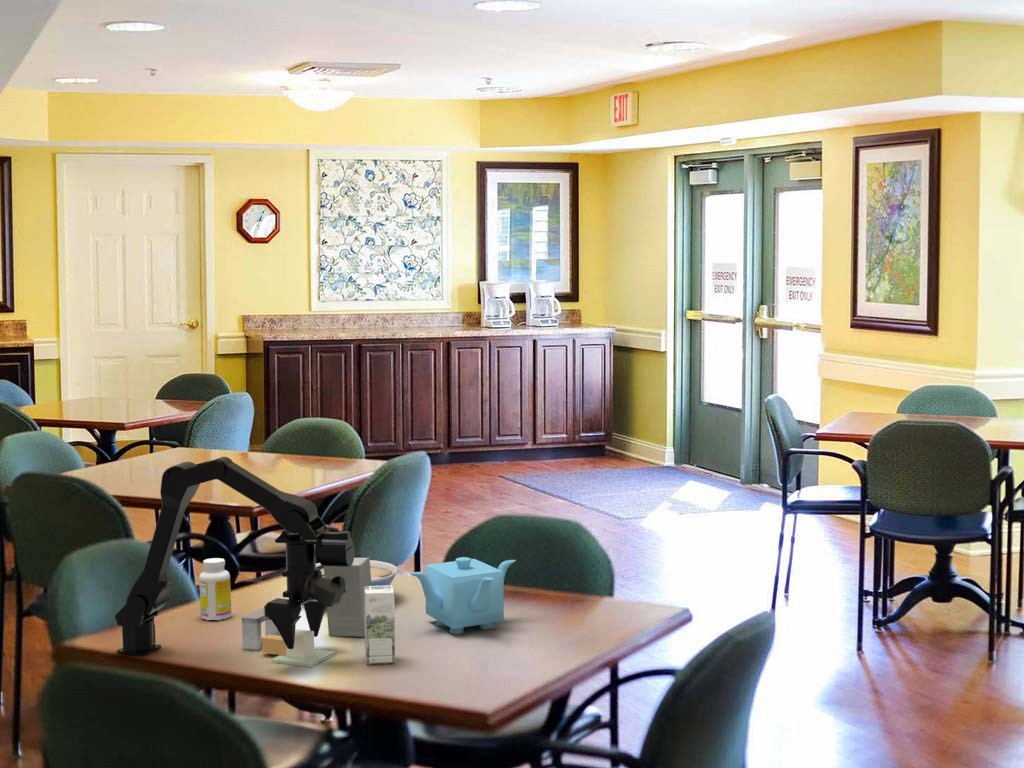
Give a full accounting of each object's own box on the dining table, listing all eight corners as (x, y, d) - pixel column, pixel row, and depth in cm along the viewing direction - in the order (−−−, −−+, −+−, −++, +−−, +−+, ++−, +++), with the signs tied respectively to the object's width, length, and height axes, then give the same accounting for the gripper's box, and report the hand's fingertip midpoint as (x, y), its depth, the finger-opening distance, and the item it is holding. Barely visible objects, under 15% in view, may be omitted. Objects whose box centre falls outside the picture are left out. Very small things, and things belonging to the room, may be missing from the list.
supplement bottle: (235, 613, 307) (233, 557, 306) (226, 621, 300) (224, 563, 299) (206, 613, 307) (204, 556, 306) (196, 621, 301) (194, 563, 300)
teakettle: (439, 612, 306) (437, 547, 305) (520, 617, 301) (519, 551, 299) (408, 635, 288) (406, 566, 287) (493, 641, 283) (492, 571, 282)
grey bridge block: (257, 650, 278) (256, 618, 278) (242, 648, 280) (241, 617, 279) (283, 637, 288) (283, 606, 287) (269, 635, 289) (268, 605, 288)
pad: (311, 667, 267) (311, 664, 267) (271, 662, 270) (271, 659, 270) (334, 654, 275) (334, 651, 275) (295, 649, 278) (295, 646, 278)
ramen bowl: (356, 621, 300) (355, 584, 299) (274, 608, 311) (273, 572, 310) (420, 595, 321) (420, 561, 320) (341, 584, 333) (340, 551, 332)
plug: (303, 658, 270) (303, 636, 270) (260, 653, 274) (259, 631, 274) (314, 653, 274) (313, 631, 273) (271, 648, 278) (270, 626, 277)
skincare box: (375, 630, 292) (373, 556, 291) (362, 639, 286) (360, 564, 284) (337, 627, 295) (336, 554, 293) (324, 636, 288) (322, 562, 286)
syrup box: (394, 655, 274) (392, 583, 273) (395, 664, 268) (394, 590, 267) (365, 657, 273) (363, 585, 272) (366, 665, 267) (364, 592, 266)
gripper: (312, 578, 259) (314, 660, 261) (360, 558, 276) (361, 634, 278) (261, 574, 263) (263, 654, 265) (311, 553, 281) (313, 629, 282)
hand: (302, 642), depth 272 cm, fingers open, 9 cm apart
